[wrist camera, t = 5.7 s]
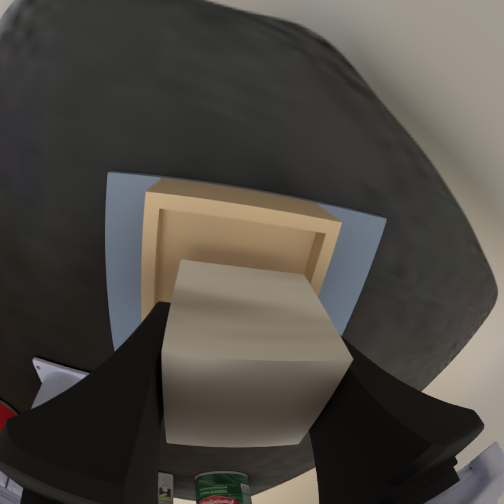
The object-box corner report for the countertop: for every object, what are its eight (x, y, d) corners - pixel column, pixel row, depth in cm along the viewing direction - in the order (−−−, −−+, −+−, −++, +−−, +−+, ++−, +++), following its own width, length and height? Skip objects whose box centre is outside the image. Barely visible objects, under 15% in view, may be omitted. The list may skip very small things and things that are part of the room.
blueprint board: (308, 390, 22) (321, 426, 18) (121, 378, 19) (112, 417, 15) (381, 216, 16) (421, 240, 12) (111, 170, 13) (78, 184, 9)
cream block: (275, 360, 12) (298, 443, 8) (175, 352, 11) (166, 442, 7) (304, 274, 10) (353, 358, 6) (181, 259, 9) (161, 351, 5)
